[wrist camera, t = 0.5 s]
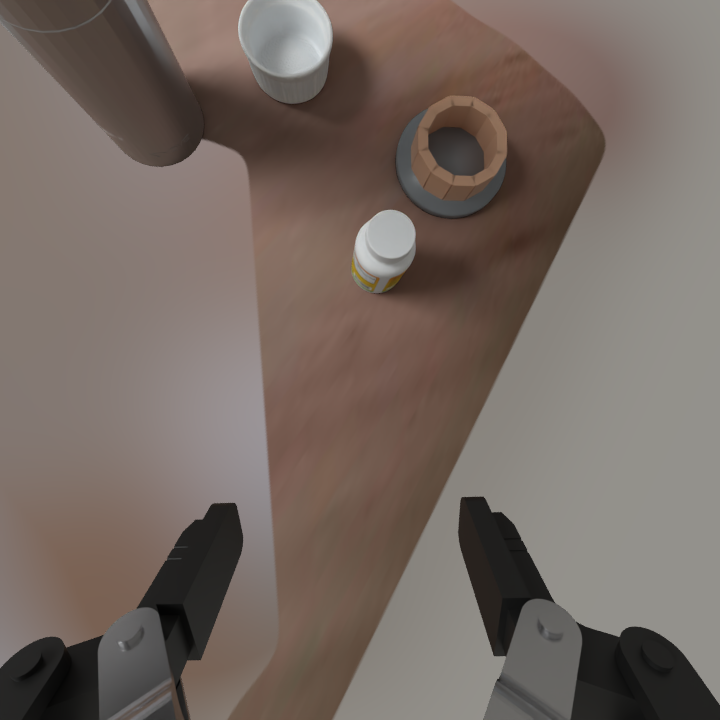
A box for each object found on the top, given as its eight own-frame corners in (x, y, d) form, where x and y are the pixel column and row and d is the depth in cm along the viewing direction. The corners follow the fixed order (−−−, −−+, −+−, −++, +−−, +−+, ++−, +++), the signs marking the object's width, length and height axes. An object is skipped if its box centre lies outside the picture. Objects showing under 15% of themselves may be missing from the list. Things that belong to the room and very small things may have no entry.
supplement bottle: (400, 245, 37) (425, 201, 28) (400, 294, 37) (425, 268, 27) (351, 243, 37) (357, 198, 27) (350, 293, 37) (357, 266, 27)
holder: (375, 141, 37) (380, 114, 33) (467, 93, 38) (482, 60, 34) (430, 238, 38) (442, 222, 34) (521, 186, 39) (542, 165, 35)
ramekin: (347, 58, 37) (349, 17, 33) (307, 126, 37) (304, 94, 33) (274, 14, 37) (267, -33, 33) (233, 82, 36) (220, 43, 32)
